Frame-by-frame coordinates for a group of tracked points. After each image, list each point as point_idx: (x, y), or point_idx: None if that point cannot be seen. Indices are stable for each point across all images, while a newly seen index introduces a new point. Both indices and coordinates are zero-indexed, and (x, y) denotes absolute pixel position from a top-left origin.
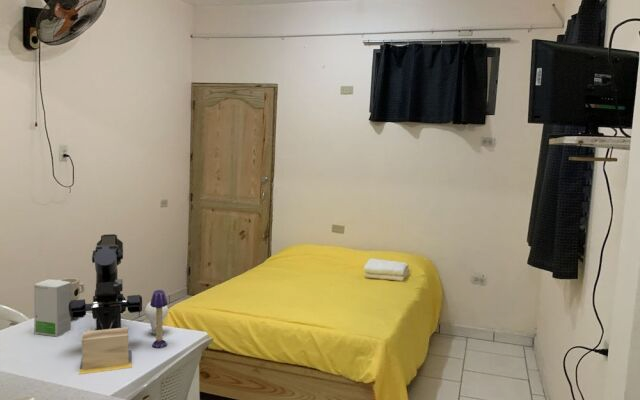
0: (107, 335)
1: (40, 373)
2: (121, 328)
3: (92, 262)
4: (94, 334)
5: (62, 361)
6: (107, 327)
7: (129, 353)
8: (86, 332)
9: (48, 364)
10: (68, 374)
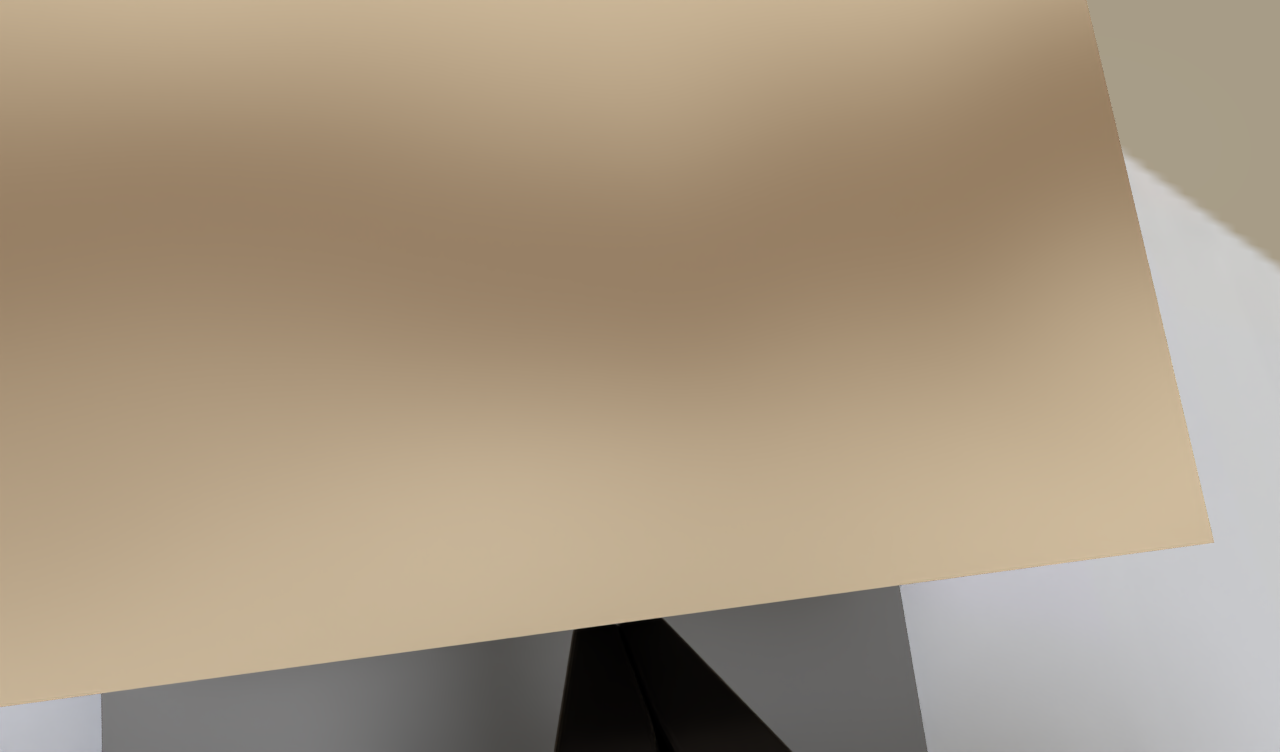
0: (529, 95)
1: (1250, 330)
2: (123, 617)
3: None
4: (890, 268)
5: (1134, 648)
6: (625, 741)
7: (145, 737)
8: (1126, 468)
9: (1264, 580)
10: None
